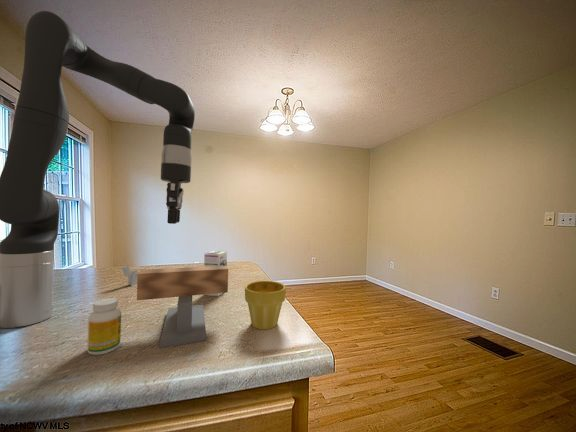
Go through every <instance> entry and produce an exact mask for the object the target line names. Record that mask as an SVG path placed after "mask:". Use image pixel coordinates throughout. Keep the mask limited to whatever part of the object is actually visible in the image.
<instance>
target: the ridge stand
mask: <svg viewBox="0 0 576 432" xmlns="http://www.w3.org/2000/svg"><path fill="white" fill-rule="evenodd" d="M177 298H178V299H177V304H176V305H177V307H168V310H167V312H166V317H165V320H164V325H163V328H162V331H161V336H160V340H159V348H161V349H162V348H167V347H174V346H181V345H186V344H193V343H200V342H206V341H207V330H206V321H205V319H206V318H205V311H204V310H205V309H204V304H197V305H193V295H192V296H181V297H177Z"/></svg>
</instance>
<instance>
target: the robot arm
mask: <svg viewBox="0 0 576 432" xmlns="http://www.w3.org/2000/svg"><path fill="white" fill-rule="evenodd" d="M23 58H24V59H23V71H22V75H21V82H20V89H19V95H18V99H17V103H16V105H15V106H16V107H15V109H14V110H15V111H14V115H13V120H12V121H13V122H12V130H11V133H10V139H9V143H8V148H7V152H6V158H5V162H4V165H3V168H2V171H1V173H0V221H1V222H3V223H6V224H8V225H11V226H10V232H9V233H8V235H6V237H5V238H4V239H2V240H1V241H0V328H1V329H2V328H3V329H13V328H20V327H25V326H30V325H34V324H37V323H40V322H43V321H46V320H47V319H49V318H51V317H52V316H53V309H54V308H53V306H54V305H53V302H54V301H53V300H54V299H53V297H54V294H53V292H54V253H55V252H54V248H55V243H56V240H57V238H58V234H59V221H60V205H59V201H58V198H57V197H56V196H55V195H54V194H53V193H52V192H50V191H49V190H46V189H44V188H45V179H46V174H47V171H48V167H49V166H50V164H51V162H52V161H53V160H54V158H55V157H56V156H57V155H58V153H59V151H60V150H61V148H62V147H63V145H64V143H65V140H66V137H67V134H68V133H67V131H68V127H69V122H70V113H69V107H68V102H67V98H66V96H65V95H66V94H65V92H64V91H65V90H64V88H63V83H62V69H63V68H65V69H68V70H70V71H74V72H76V73H80V74H83V75H85V76H88V77H92V78H94V79H96V80H99V81H101V82H103V83H107V84H109V85H110V86H113V87H114V88H117V89H118V90H120V91H123V92H124V93H126V94H128V95H130V96H132V97H135V98H136V99H138V100H140V101H142V102H144V103H146V104H149V105H157V106H159V107H161V108H163V109H164V110H166V111H167V112H168V113H169V114H168V115H169V119H168V124H166V126H165V127H164V129H163V139H162V143H163V144H162V151H161V156H160V157H161V159H160V160H161V163H160V180H161V181H163V182H167V184H166V190H165V191H166V198H165V199H166V202H165V204H166V209H167V223H168V224H170V225H171V224H173V225H174V224H177V223H180V219H181V209H182V206H183V205H182V204H183V199H184V198H183V196H184V188H182V186H181V185H182V184H189V183H190V182H191V180H192V179H191V176H192V132H193V129H194V128H193V127H194V125H195V124H194V123H195V114H196V113H195V111H196V110H195V105H194V103H193V102H192V100H191V98H190V96H189V94H188V93H187V92H186V90H184V89H183V88H181V87H180V86H178V85H176V84H174V83H173V82H169V81H166V80H163V79H159V78H156V77H154V76H152V75H151V74H148V72H145V71H143V70H140V69H139V68H137V67H135V66H133V65H131V64H128V63H124V62H119V61H114V60H111V59H108V58H106V57H104V56H102V55H101V54H100V53H98V52H96V51H95V50H94V49H92V48H91V47H89V46H88V45H87V44H86V43H85V41H83V39H82V38H81V37H80V36H79V35H78V33H76V32H75V30H74V29H73V28H72V27H71V26H70V25H69V24H68V23H67V22H66V21H65V20H64V19H63V18H62V17H61V16H60V15H57V14H56V13H54V12H52V11H48V10H40V11H38V12H36V13H34V14H33V15H32V16H31V17H30V18H29V20H28V22H27V24H26V27H25V38H24V57H23ZM62 67H63V68H62Z"/></svg>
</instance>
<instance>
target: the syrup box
mask: <svg viewBox="0 0 576 432" xmlns="http://www.w3.org/2000/svg"><path fill="white" fill-rule="evenodd" d="M227 254H228V253H227V251H224V250H212V251H210V252H205V253H204V257H203V260H204V262H203V263H204V265H203V267H209V266H227V263H228V262H227V261H228V260H227V259H228V255H227ZM227 267H228V266H227ZM222 294H223V293H215V294H204V295H205V296H210V297H212V296H213V297H220V296H221V295H222Z"/></svg>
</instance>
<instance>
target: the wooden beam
mask: <svg viewBox="0 0 576 432" xmlns="http://www.w3.org/2000/svg"><path fill="white" fill-rule="evenodd" d="M138 272H139V273H138V274H137V284H136V301H145V300H146V301H147V300H157V299H168V298H170V299H171V298H179V297H181V296H192V297H193V296H202V295H204V294H215V293H222V294H224V293H229V291H228V290H229V268H228V266H209V267H204V266H191V267H173V268H169V267H168V268H154V269H152V268H149V269H141V270H139V271H138Z"/></svg>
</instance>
